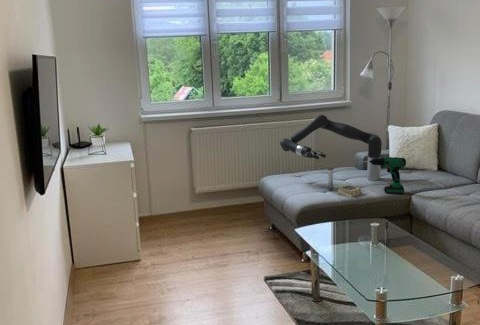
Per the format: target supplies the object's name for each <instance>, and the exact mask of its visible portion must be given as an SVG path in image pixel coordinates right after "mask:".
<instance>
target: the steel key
mask: <svg viewBox="0 0 480 325" xmlns="http://www.w3.org/2000/svg"><path fill="white" fill-rule="evenodd" d="M334 169H335V167H333V166H331V167H328V168H326V171H327V174H328V175H327V176H328V177H327V178H328V179H327V182H328V183H327V184H328V185H327V191H329V192H333V190H334V187H333V186H334Z"/></svg>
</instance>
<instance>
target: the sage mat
mask: <svg viewBox="0 0 480 325" xmlns="http://www.w3.org/2000/svg"><path fill="white" fill-rule="evenodd" d="M346 185H351V186H354V184H353V185H352V184H348V183H343V182H341V183H338V184H333V188H336V189H338V188H340V187H343V186H346Z"/></svg>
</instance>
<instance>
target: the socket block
mask: <svg viewBox="0 0 480 325" xmlns="http://www.w3.org/2000/svg"><path fill="white" fill-rule="evenodd" d="M351 185H352V184H349V185H346V186H343V187H340V188H337V194H338V195H342V196H346V197H350V198H353V197H356V196H358V195H361V194H362V188H361V187H359V186H355V185H353V186H351Z"/></svg>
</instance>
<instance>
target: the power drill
mask: <svg viewBox="0 0 480 325" xmlns="http://www.w3.org/2000/svg"><path fill="white" fill-rule="evenodd" d="M406 159H407V158H405V157H398V156H395V157H394V156H393V157H391V156H389V157H388V156H384V157H381V158H373V159H372V160H371V161H368V160H366V161H365V160H363V161H361V162H363V163H368V162H371V164H373V165H380V166H381V167H382V166H383V168H384V169H386V172H387V173H388V174H390V175H391V180H392V182H390V183H389V185H385V186H384V188H383V192H384V193H385V194H401V195H403V194H405V188H404V185H403V184H402V183H401V174H400V169H404V168H406V165H407V160H406Z"/></svg>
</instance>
